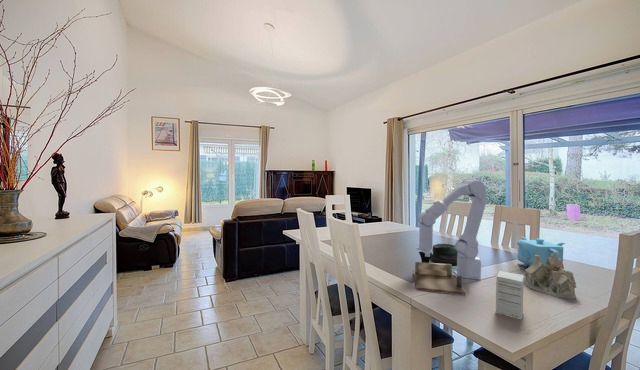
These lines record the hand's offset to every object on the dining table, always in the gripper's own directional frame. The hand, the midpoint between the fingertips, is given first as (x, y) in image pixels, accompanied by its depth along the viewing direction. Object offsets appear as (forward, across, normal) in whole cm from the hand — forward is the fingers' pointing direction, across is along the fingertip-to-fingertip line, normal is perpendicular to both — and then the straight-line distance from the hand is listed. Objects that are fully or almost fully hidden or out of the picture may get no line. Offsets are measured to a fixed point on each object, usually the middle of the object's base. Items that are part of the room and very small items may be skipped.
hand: (425, 268), depth 130 cm
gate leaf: (+2, +2, +3) cm, 4 cm away
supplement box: (+4, +30, +23) cm, 38 cm away
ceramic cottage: (+4, +4, +47) cm, 48 cm away
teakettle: (+4, -26, +57) cm, 63 cm away
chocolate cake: (+4, -25, +14) cm, 29 cm away
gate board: (+3, +8, +4) cm, 10 cm away
